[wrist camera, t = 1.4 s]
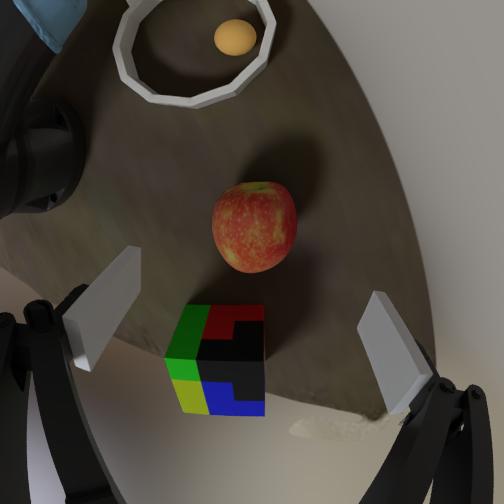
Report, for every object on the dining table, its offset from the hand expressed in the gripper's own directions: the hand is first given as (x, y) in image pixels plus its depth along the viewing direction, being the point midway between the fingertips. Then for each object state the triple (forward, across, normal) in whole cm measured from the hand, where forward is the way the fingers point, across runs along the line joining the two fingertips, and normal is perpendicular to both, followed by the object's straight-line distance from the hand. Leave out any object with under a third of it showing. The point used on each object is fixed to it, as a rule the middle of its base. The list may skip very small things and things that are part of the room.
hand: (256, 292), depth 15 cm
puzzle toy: (+17, -1, -18) cm, 24 cm away
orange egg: (+17, -6, +17) cm, 25 cm away
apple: (+17, 0, -1) cm, 17 cm away
